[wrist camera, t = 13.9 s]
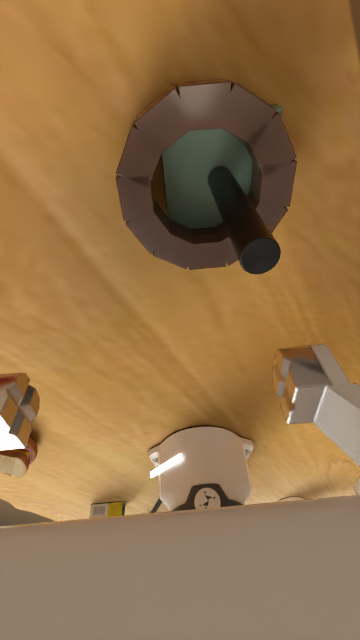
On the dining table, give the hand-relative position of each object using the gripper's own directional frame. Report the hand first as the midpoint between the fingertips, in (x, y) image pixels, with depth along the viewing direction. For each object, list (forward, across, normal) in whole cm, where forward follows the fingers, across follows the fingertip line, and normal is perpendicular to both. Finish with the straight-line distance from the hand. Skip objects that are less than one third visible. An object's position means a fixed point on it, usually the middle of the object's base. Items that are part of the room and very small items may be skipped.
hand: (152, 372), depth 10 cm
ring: (+20, -4, 0) cm, 20 cm away
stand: (+21, -5, 0) cm, 22 cm away
